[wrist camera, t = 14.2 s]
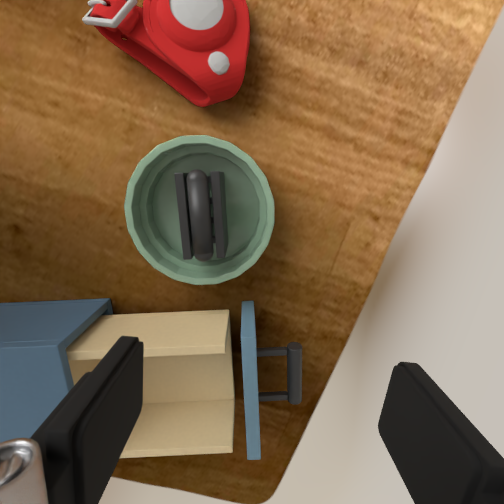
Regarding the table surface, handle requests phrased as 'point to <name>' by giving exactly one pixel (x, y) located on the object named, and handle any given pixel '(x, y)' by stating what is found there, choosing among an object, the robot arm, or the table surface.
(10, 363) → the cabinet
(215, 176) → the grey roller rack
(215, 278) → the bowl
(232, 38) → the tracker holder
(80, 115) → the table surface
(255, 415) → the drawer
